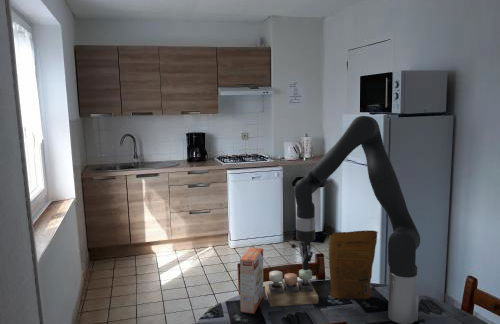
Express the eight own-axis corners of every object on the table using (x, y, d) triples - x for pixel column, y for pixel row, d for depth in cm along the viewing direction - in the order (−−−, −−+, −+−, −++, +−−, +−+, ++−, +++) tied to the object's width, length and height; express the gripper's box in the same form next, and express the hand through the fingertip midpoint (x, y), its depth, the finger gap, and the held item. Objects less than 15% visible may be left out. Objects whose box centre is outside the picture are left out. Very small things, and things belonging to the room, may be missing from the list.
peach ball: (295, 284, 166) (295, 272, 165) (298, 289, 161) (298, 278, 160) (283, 284, 166) (283, 273, 165) (285, 290, 160) (285, 278, 160)
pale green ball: (310, 279, 167) (310, 268, 166) (313, 285, 161) (313, 273, 161) (297, 280, 166) (297, 269, 165) (300, 286, 161) (300, 274, 160)
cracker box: (255, 314, 151) (254, 260, 148) (239, 312, 152) (238, 259, 149) (264, 297, 164) (263, 247, 161) (250, 295, 166) (249, 246, 163)
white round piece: (281, 281, 165) (281, 270, 165) (283, 287, 160) (283, 275, 159) (268, 282, 165) (268, 271, 164) (270, 288, 160) (270, 276, 159)
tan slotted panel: (309, 288, 171) (309, 276, 171) (318, 303, 158) (318, 290, 158) (265, 291, 169) (264, 279, 168) (270, 306, 156) (270, 293, 156)
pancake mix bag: (377, 301, 159) (379, 232, 155) (328, 300, 160) (329, 232, 157) (373, 293, 166) (375, 227, 162) (326, 293, 167) (327, 227, 163)
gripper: (319, 232, 154) (319, 275, 157) (310, 222, 167) (310, 262, 170) (300, 233, 154) (300, 276, 156) (292, 223, 167) (292, 263, 169)
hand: (305, 269), depth 163 cm, fingers closed
